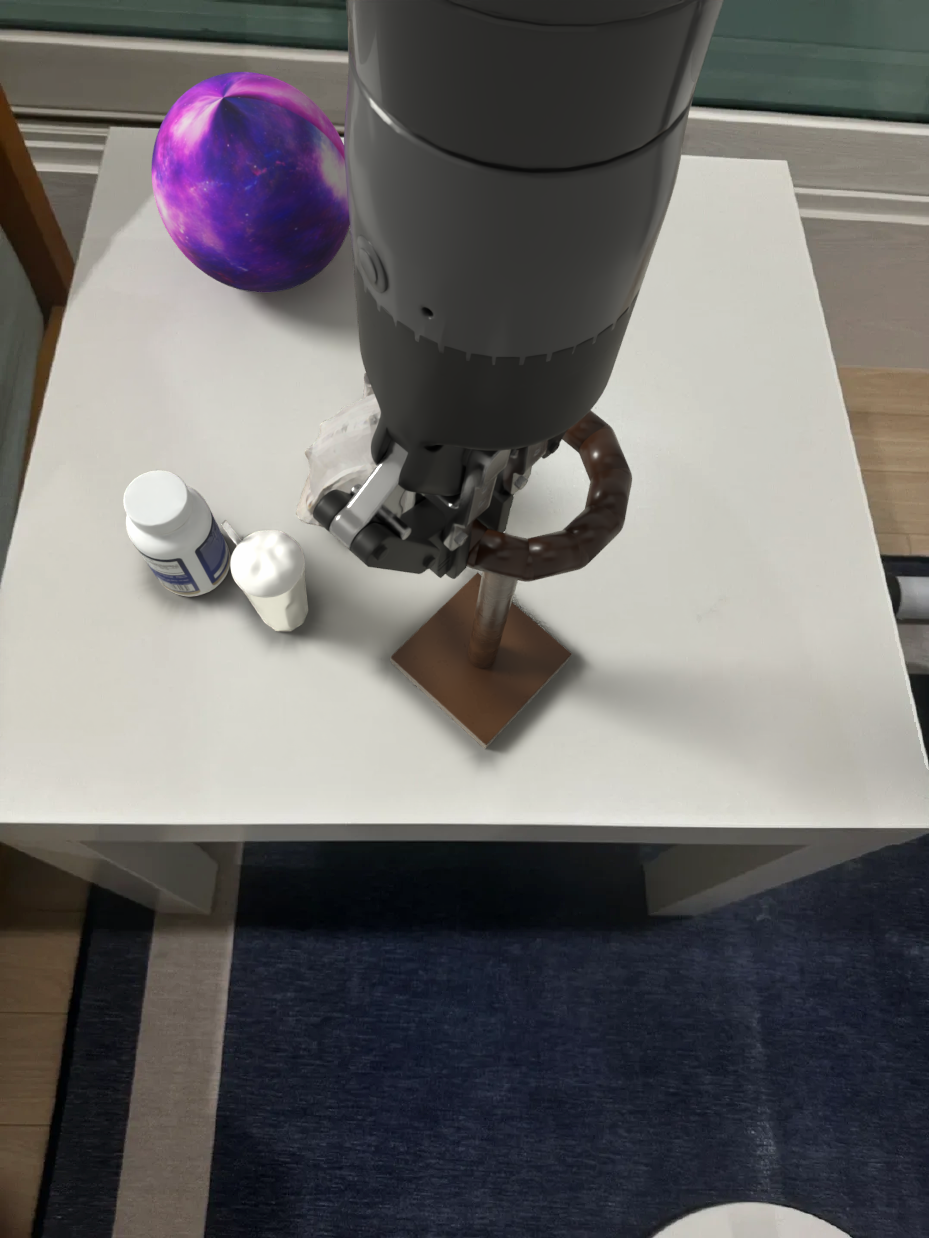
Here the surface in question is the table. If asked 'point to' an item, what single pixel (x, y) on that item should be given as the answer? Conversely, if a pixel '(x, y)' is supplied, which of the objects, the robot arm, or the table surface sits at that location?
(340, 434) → the seashell
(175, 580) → the pill bottle
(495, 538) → the ring
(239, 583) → the milkshake
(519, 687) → the stand
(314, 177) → the decorative orb
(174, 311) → the table surface
